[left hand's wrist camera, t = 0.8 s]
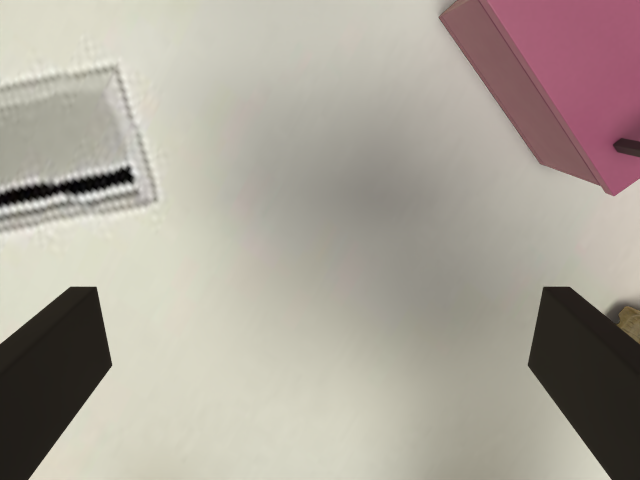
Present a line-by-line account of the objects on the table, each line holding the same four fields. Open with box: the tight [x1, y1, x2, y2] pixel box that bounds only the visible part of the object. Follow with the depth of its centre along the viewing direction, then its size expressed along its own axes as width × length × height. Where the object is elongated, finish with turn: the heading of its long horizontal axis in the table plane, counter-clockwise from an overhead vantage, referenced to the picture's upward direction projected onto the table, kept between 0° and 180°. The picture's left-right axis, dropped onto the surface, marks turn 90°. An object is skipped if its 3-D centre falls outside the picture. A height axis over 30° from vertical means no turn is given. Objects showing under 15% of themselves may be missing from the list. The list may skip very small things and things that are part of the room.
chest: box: [439, 0, 601, 186], centre depth 31 cm, size 16×10×9 cm, turn 41°
